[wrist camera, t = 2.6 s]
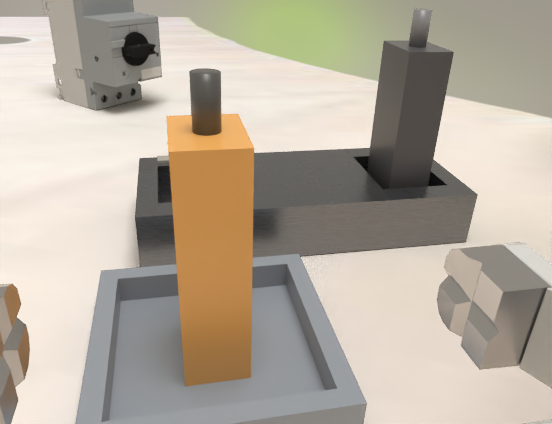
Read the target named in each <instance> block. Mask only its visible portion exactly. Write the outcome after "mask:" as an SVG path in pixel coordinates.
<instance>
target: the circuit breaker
mask: <svg viewBox="0 0 552 424" xmlns="http://www.w3.org/2000/svg"><path fill="white" fill-rule="evenodd" d="M42 3H43V9H44V14H45V15H49V21H50V27H51V33H52V39H53V45H54V51H55V57H56V64H53V69H54V75H55V81H56V87H57V88H59V89H60V95H61V96H58V98H59V99H64V101H67V102H70V103H73V104H76V105H80V106H83V107H86V108H89V109H93V110H100V109H104V108H108V107H112V106H115V105H119V104H123V103H127V102H131V101H135V100H139V99H142V95H141V85H140V84H138V81H140V82H141V81H145V80H150V79H154V78H159V77H162V69H161V55H160V41H159V26H158V17H157V16H154V15H147V14H140V13H134V7H133V0H42ZM46 3H49V9H50V10H47V5H46ZM59 79H60V80H61V82H62V85H60V83H59Z"/></svg>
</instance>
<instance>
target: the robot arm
mask: <svg viewBox="0 0 552 424" xmlns="http://www.w3.org/2000/svg"><path fill="white" fill-rule="evenodd" d="M444 268H445V270H446V272H447V274H448V275H449V276H448V277H447V278H446V279H445V280H444V281H443V282H442V283H441V285H440V286H439V292H438V297H437V302H438V310H439V314H440V316H441V319H442V321H443V323H444V324H445V325H446V327H447V328H448V329H449V330H450V331H451V332H453V333H455V334H457V335H459V336H461V337H462V341H461V346H462V348H463V349H464V350H465V352H466V353H467V354H468V355H469V357H470V358H471V359H472V361H473V362H474V363H475V364H476V366H477V367H478V368H479V370H481V369H490V368H500V367H509V366H519V365H520V367H519V368H521V369H522V370H524V371H526V372H527V373H529V374H530V375H532V376H533V377H535V378H536V379H538V380H540V381H541V382H543V383H544V384H546V385H547V386H549V387H550V388H552V264H550V263H549V262H548V261H547V260H545V259H544V258H543V257H542V256H540V255H539V254H538V253H537V252H535V251H534V250H533V249H531V248H530V247H529V246H528V245H526V244H523V243H520V242H515V243H506V244H498V245H492V246H482V247H472V248H462V249H452V250H451V251H450V252H449V254H448V255H447V257H446V261H445V265H444ZM20 306H21V302H20V298H19V294H18V291H17V288H16V287H15V286H14V285H13V284H0V424H11V422H12V418H13V415H14V412H15V409H16V406H17V402H18V397H17V393H16V389H15V387H16V386H17V385H19V384H20V383H21V382H22V381H23V380H24V379H25V376H26V372H27V369H28V363H29V351H30V348H29V336H28V332H27V327H26V324H24V323H23V322H22V321H20V320H19V319H18V318H17V314H18V312H19V309H20ZM524 424H552V419H549V420H543V421H537V422H530V423H524Z"/></svg>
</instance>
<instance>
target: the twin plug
mask: <svg viewBox="0 0 552 424" xmlns="http://www.w3.org/2000/svg"><path fill="white" fill-rule="evenodd" d="M431 14H432V10H430V9H414V13H413V19H412V26H411V33H410V40H409V41H384V44H383V52H382V61H381V68H380V76H379V83H378V91H377V99H376V106H375V114H374V122H373V130H372V138H371V146H370V153H369V161H368V169H367V173H368V174H369V175H370V176H371V177H372V178H373V179H374V180H375V182H376V183H377V184H378V185H379V186H380V187H381V188H382V189H394V188H410V187H426V186H428V183H429V178H430V173H431V168H432V162H433V157H434V152H435V147H436V142H437V136H438V131H439V126H440V121H441V115H442V110H443V105H444V100H445V95H446V89H447V84H448V79H449V74H450V69H451V63H452V58H453V52H452V51H450V50H447V49H445V48H442V47H439V46H437V45H434V44H431V43H429V42H427V38H428V32H429V26H430V20H431Z"/></svg>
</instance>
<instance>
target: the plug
mask: <svg viewBox="0 0 552 424" xmlns="http://www.w3.org/2000/svg"><path fill="white" fill-rule="evenodd" d="M190 93H191V115H185V116H167V134H168V152H169V166H170V180H171V194H172V208H173V222H174V236H175V250H176V265H177V279H178V293H179V307H180V321H181V335H182V349H183V363H184V377H185V386H192V385H200V384H207V383H215V382H222V381H230V380H237V379H245V378H251V340H252V267H253V194H254V147H253V145H252V143H251V140H250V138H249V136H248V134H247V132H246V130H245V128H244V126H243V123H242V121H241V119H240V117H239V115H238V114H221V72H220V71H219V70H215V69H194V70H191V71H190Z"/></svg>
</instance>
